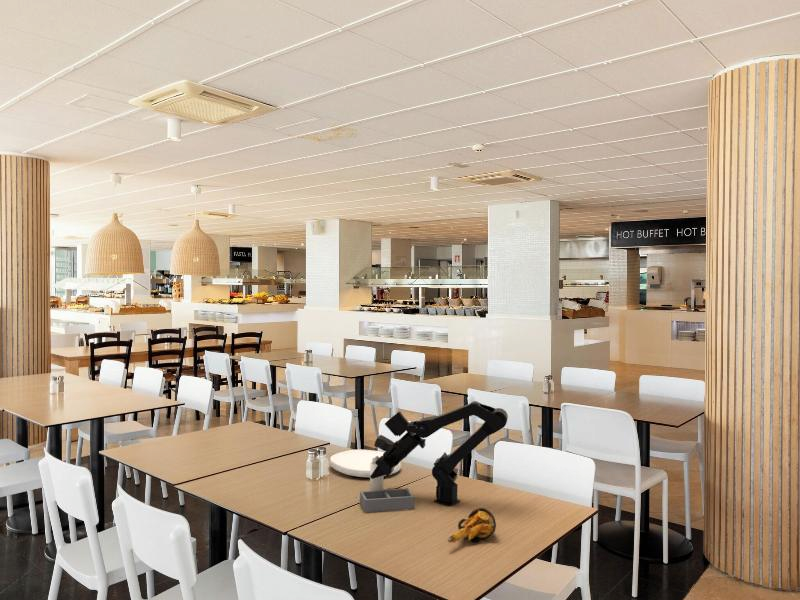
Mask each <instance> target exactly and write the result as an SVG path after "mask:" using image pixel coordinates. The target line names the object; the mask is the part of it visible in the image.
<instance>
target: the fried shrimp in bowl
mask: <svg viewBox="0 0 800 600" xmlns="http://www.w3.org/2000/svg"><path fill="white" fill-rule="evenodd" d="M457 529H458V530H457V531H454V532H453V533H452V534H451V535H450V536H449V537H448V538H447V541H448V543H449V544H451V543H456V542H458V541H460V540H461V539H464V541H466V542H467V543H470V544H473V545H476V544H479V543H481V542H484V541H485V542H486V541H488V540H490V539H491V538H492V537H493V535H494V534H495V532H496V529H497V523H496V518H495V516H494V515H493V513H492V512H491V511H490V510H489V509H487V508H485V507H478V508H475V509H473V510H472V511H471V512H470V513H469V515H468V517H467V518H462V519H461V520H459V521H458V524H457Z"/></svg>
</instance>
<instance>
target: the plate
mask: <svg viewBox="0 0 800 600" xmlns="http://www.w3.org/2000/svg"><path fill="white" fill-rule="evenodd" d="M384 452H385V451H384ZM384 452H383V451H379V450H371V449H351V450H344V451H341V452H337V453H335V454H333V455H331V456H330V458H329V465H330V467H331V468H333V469H334V470H336V471H337V472H339V473H342V474H344V475H346V476H347V475H348V476H352V477H359V478H370V463H371V462H372V458H375V457H376V456H378V457H379V458H380V457H381V456H383V454H384ZM401 468H402V461H401V462H400V463H399V464H398V465H397V466H395V467H394V470H393V472H392V473H391V474H390V475H389V476H391V475H393V474H395V473H397V472H398V471H400V470H401ZM383 477H387V476H386V475H384V476H383Z"/></svg>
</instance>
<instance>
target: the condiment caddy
mask: <svg viewBox="0 0 800 600" xmlns="http://www.w3.org/2000/svg"><path fill="white" fill-rule="evenodd" d="M415 498H416V497H415V495H414V494H413V493H412V492H411V490H410V489H409V488H408V487H406V488H393V489H383V490H375V491H370V490H365V491H364V490H363V491H359V505H360V507H361V506H362V507H361V509H362V511H363V512H364V514H365V513H367V512H368V513H378V512H379V513H380V512H393V511H404V510H405V511H406V509H408V510H415V504H416V503H415V502H416V501H415Z"/></svg>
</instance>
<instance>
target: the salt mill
mask: <svg viewBox="0 0 800 600" xmlns="http://www.w3.org/2000/svg"><path fill="white" fill-rule="evenodd" d="M378 459H379V457H378V456H376V457H375V458H372V462H371V463H370V476H371V474H372V473H373V472H374V470H375V469H376V467H377V465H376V463H375V462H376V461H377V460H378ZM384 477H385V476H384V475H383V476H380V477H377V478H374V479H371V477H369V491H375V490H384Z"/></svg>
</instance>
